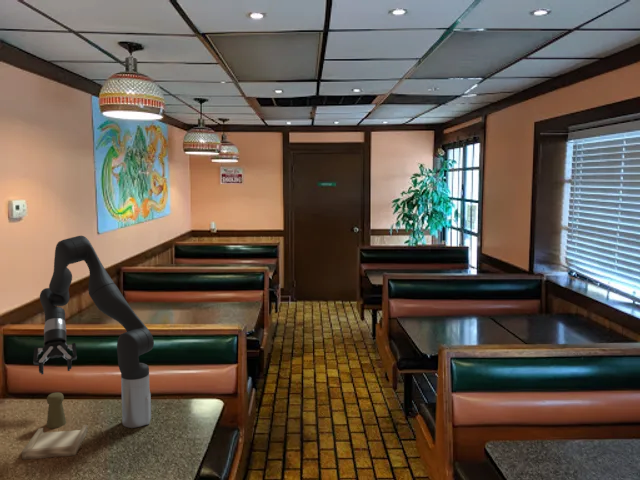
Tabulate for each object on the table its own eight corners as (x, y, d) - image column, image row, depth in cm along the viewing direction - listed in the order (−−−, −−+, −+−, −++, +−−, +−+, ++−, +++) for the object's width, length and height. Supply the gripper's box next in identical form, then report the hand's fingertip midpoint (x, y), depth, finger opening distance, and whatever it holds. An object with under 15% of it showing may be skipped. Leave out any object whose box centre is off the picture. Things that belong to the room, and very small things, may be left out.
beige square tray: (87, 431, 168) (87, 424, 167) (75, 455, 153) (74, 447, 153) (39, 435, 165) (39, 428, 164) (21, 459, 150) (21, 451, 150)
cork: (69, 420, 175) (68, 390, 174) (59, 428, 169) (57, 398, 168) (53, 419, 176) (52, 389, 175) (42, 427, 170) (41, 397, 169)
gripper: (33, 330, 184) (32, 370, 175) (75, 325, 190) (77, 364, 181) (34, 340, 189) (34, 379, 180) (76, 335, 196) (77, 373, 187)
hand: (55, 371), depth 181 cm, fingers open, 8 cm apart
